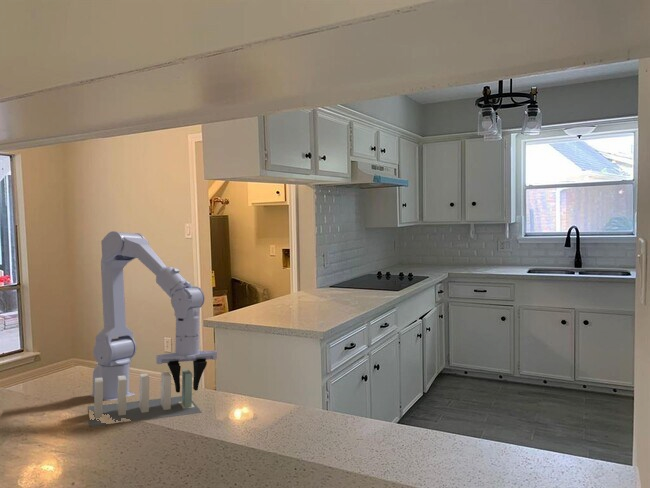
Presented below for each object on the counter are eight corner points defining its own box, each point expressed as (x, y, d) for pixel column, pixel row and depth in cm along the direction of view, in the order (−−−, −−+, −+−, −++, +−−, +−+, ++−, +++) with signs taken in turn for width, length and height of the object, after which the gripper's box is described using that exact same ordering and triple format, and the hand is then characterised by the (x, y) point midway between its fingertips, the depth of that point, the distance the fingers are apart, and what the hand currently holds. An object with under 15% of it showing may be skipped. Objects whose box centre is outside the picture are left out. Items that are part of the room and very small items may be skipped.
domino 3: (141, 412, 116) (142, 378, 116) (139, 407, 120) (139, 374, 121) (148, 411, 117) (149, 377, 117) (146, 406, 121) (146, 373, 121)
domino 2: (118, 415, 114) (119, 380, 114) (117, 409, 118) (117, 376, 119) (126, 414, 114) (126, 379, 115) (124, 409, 119) (124, 375, 119)
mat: (89, 428, 106) (89, 427, 106) (87, 408, 121) (88, 406, 121) (202, 414, 116) (202, 412, 116) (188, 397, 131) (188, 395, 131)
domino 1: (94, 418, 112) (95, 382, 112) (94, 412, 116) (94, 378, 116) (102, 417, 112) (103, 381, 113) (101, 411, 117) (102, 377, 117)
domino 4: (163, 410, 118) (164, 376, 119) (160, 404, 123) (161, 372, 123) (170, 409, 119) (171, 375, 119) (167, 403, 123) (167, 371, 124)
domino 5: (184, 407, 120) (185, 374, 121) (181, 402, 125) (182, 370, 125) (191, 406, 121) (192, 373, 121) (188, 401, 126) (188, 369, 126)
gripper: (159, 339, 117) (158, 397, 116) (220, 335, 123) (219, 391, 123) (155, 335, 123) (154, 390, 123) (213, 332, 130) (212, 384, 129)
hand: (186, 390), depth 123 cm, fingers open, 4 cm apart
